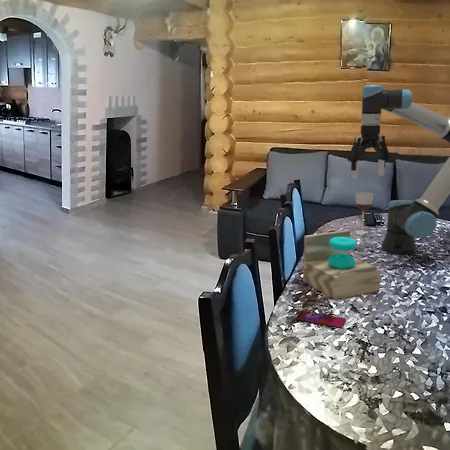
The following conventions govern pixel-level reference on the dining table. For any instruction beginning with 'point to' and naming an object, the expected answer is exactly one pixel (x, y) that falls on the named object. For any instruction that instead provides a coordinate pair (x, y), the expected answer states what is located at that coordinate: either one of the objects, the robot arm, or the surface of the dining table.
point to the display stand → (336, 269)
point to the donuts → (342, 259)
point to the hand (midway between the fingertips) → (367, 177)
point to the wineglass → (363, 205)
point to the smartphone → (320, 319)
